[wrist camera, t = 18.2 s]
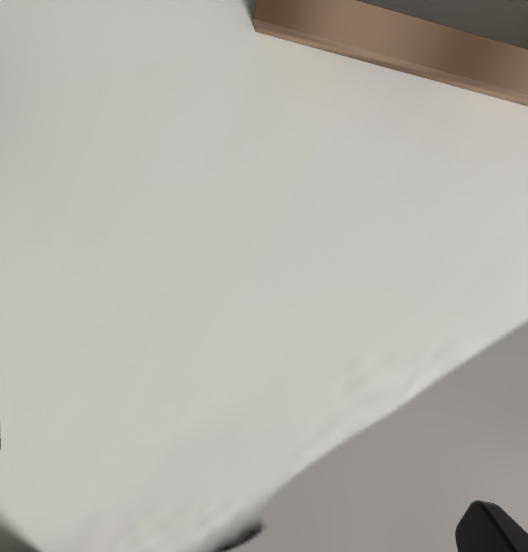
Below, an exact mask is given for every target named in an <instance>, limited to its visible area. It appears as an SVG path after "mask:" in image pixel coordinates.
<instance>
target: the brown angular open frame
mask: <svg viewBox="0 0 528 552" xmlns="http://www.w3.org/2000/svg"><path fill="white" fill-rule="evenodd" d="M253 21H254V26H255V32H259V33H262V34H266V35H270V36H273V37H277V38H281V39H284V40H288V41H291V42H295V43H299V44H302V45H306V46H310V47H313V48H317V49H321V50H324V51H328V52H332V53H335V54H339V55H343V56H346V57H350V58H354V59H357V60H361V61H365V62H368V63H372V64H376V65H379V66H383V67H387V68H390V69H394V70H397V71H401V72H405V73H408V74H412V75H416V76H419V77H423V78H427V79H430V80H434V81H438V82H441V83H445V84H449V85H452V86H456V87H460V88H463V89H467V90H471V91H474V92H478V93H482V94H485V95H489V96H492V97H496V98H500V99H503V100H507V101H511V102H514V103H518V104H522V105H525V106H528V49H524V48H521V47H517V46H514V45H510V44H507V43H503V42H500V41H496V40H493V39H489V38H486V37H482V36H479V35H475V34H472V33H468V32H465V31H461V30H458V29H454V28H451V27H447V26H444V25H440V24H437V23H433V22H430V21H427V20H423V19H420V18H416V17H413V16H409V15H406V14H402V13H399V12H395V11H392V10H388V9H385V8H381V7H378V6H374V5H371V4H367V3H364V2H360V1H357V0H257V2H256V7H255V12H254V17H253Z"/></svg>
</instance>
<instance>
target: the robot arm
mask: <svg viewBox="0 0 528 552" xmlns="http://www.w3.org/2000/svg"><path fill="white" fill-rule="evenodd" d="M0 448H1V440H0ZM455 536H456V544H457V548H458V552H528V533H526V532H525V531H524V530H523V529H522V528H521V527H520V526H519V525H518V524H517V523H516V522H515V521H514V520H513V519H512V518H511V517H510V516H509V515H508V514H507V513H506V512H505V511H503V510H502V508H500V507H499V506H498V505H496V504H494V503H490V502H485V501H479V500H476V501H474V502H472V503H471V504H470V506H469V507H468V509H467V511H466V512H465V514H464V515H463V517H462V519H461V520H460V522H459V523H458V525H457V527H456V533H455Z"/></svg>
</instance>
